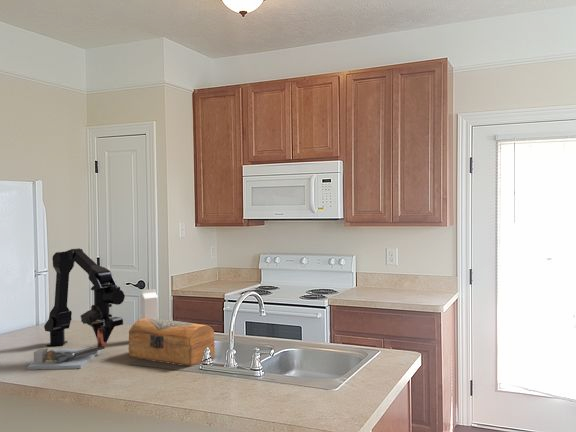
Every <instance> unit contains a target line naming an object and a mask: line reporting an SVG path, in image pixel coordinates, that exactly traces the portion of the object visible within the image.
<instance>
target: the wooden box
mask: <svg viewBox="0 0 576 432" xmlns="http://www.w3.org/2000/svg"><path fill="white" fill-rule="evenodd" d="M207 347H209V349H210V352H211V358H210V359H213V358H215V331H214V329H213V327H211V326H209V325H206V324H199V323H193V322H186V321H179V320H177V321H176V320H170V319H161V318H160V319H159V318H158V319H149V318H142V319H141V318H140V319H138V320H136V321H135V322H134V324H133V325H132V326H131V328H130V329H129V330H128V357H129V358H131V359H136V358H137V360H143V359H148V360H147V361H150V360H155V361H154V362H156V361H162V362H161V363H163V362H169V363H168V364H170V363H174V364H173V365H176V364H183V365H186V366H185V367H193V366H196V365H198V364H200V363H202V362H201V361H202V359H203V356H204V351H205V349H206V348H207ZM183 365H182V366H183Z"/></svg>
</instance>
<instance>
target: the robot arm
mask: <svg viewBox="0 0 576 432" xmlns="http://www.w3.org/2000/svg"><path fill="white" fill-rule="evenodd" d="M75 263H76V264H77V265H78V266H79V267H80V268H81V269H82V270H83V271H84V272H85V273H86V274H88V280H89V281H90V283H91V284H92V285H93V286H91V288H90V291H93V304H92V305H91V307H90V310H87V311H85V313H84V312H83V313H82V314H80V319H81V321H80V322H81V323H82V324H83V325H85V324H86V325H88V326H90V328H92V330H93V333H94V335H95V337H96V338H95V339H97V329H98V328H102V329H103V339H104V342H107V343H108V340H109V339H110V336H111V334H112V332H113V330H114V328H115V327H119V326H123V325H124V319H123V317H119V316H113V314H111V313H110V308H111V307H113V305H116V306H119V305H121V304H122V303H124V301H125V298H126V297H125V296H126V295H125V294H124V291H123V290H122V289H121V286H118V284H117V281H116V280H115V278H114V277H113V276H114V275H113V273H112V272H111V270H109V269H108V268H106V267H103V266H101V265H99V264H98V263H96V262H95V261H94V259H92V258H90V257H89V256H88V255H87V254H86V253H85V252H84V250H83V249H82V248H78V247H77V248H71V249H68V250H65V251H57V252H55V253H54V254H53V255H52V268H53V269H54V270H55V272H56V275H55V276H56V277H55V292H54V303H53V304H54V306H52V309H51V310H50V312H49V317H48V320H47V321H46V322H45V324H44V326H43V328H44V332H49V343H47V344H46V346H47V347H49V346H50V347H51V346H52V347H53V346H54V347H56V346H57V347H58V346H61V347H62V346H65V345H66V344H67V343H68V340H66V338H65V332H66V331H65V330H67V329H70V326H71V321H72V319H73V318H72V314H73V312H72V310H70V309H69V307H68V298H69V284H70V283H69V282H70V280H69V279H70V273H71V271H72V269H73V268H74V267H75Z"/></svg>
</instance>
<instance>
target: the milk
mask: <svg viewBox="0 0 576 432" xmlns="http://www.w3.org/2000/svg"><path fill="white" fill-rule="evenodd" d="M156 291H157V289H156V288H152V289H142V290H141V293H142V294H141V295H140V296H139V299H140V300H139V301H140V307H139V308H140V319H142V318H149V319H159V297H158V294H157V293H156Z"/></svg>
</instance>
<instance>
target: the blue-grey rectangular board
mask: <svg viewBox="0 0 576 432" xmlns="http://www.w3.org/2000/svg"><path fill="white" fill-rule="evenodd" d="M83 349H86V347H85V348H53V349H51V350H53V351H55V352H56V353H57V352H58V353H62V355H63V353H65V352H71V351H73V352H75V351H79V350H83ZM47 352H48V348H38V349H37V350H35V351H33V362H31V363H30V364H29V365H27V366H26V370H28V371H30V370H31V371H33V370H34V371H35V370H36V371H37V370H38V369H41V370H73V369H75V370H76V369H77V368H81V369H82V368H84V366H86V365H87V364H88V363H89V362H90V361H91V360H93V359H94V358H95V357H96V356H97V355H98V354H99V353H101V350H98V351H94V352H91V353H87V354H84V355H80V356H76V357H75V358H72V359H65V360H62V361H57V360H53V359H51V360H48V359H47V358H46V354H47ZM85 364H86V365H85ZM77 370H78V369H77Z"/></svg>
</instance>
